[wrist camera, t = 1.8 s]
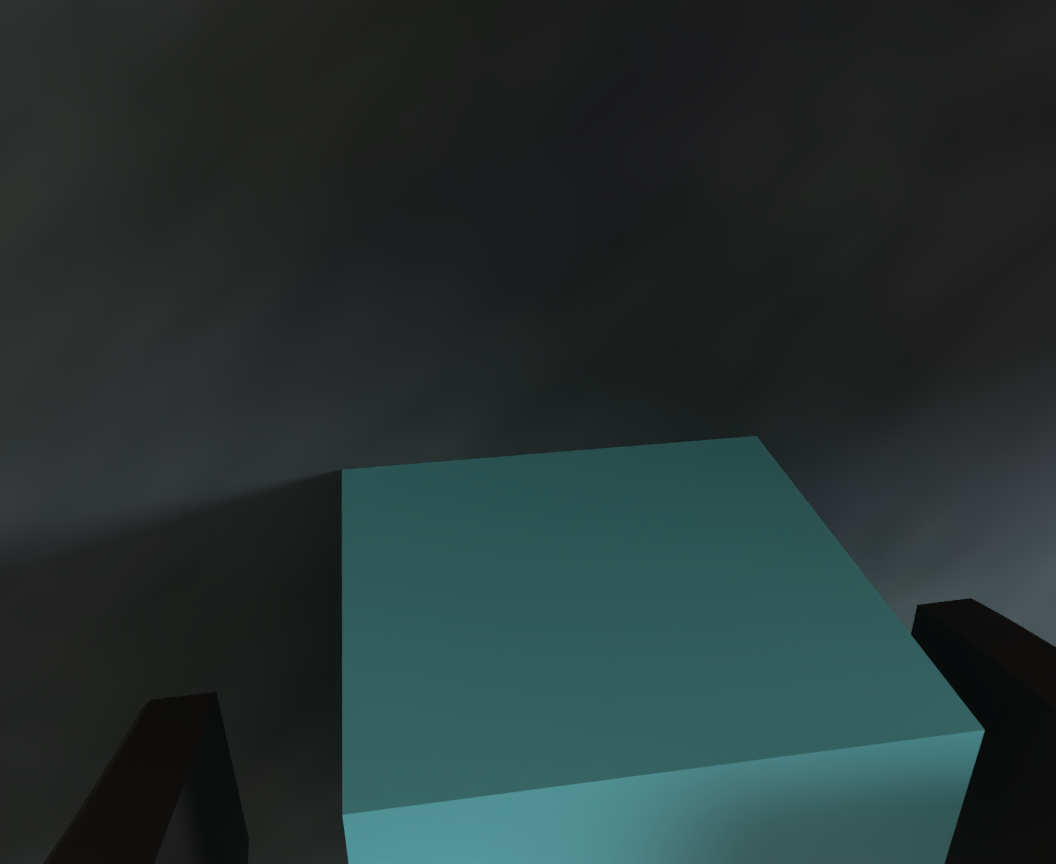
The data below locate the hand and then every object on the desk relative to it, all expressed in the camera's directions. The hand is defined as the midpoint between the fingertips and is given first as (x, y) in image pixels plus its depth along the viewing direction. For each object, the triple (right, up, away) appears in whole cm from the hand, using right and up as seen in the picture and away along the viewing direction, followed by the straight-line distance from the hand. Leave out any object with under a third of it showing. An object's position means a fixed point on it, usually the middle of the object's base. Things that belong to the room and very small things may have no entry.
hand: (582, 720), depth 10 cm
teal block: (0, +1, +2) cm, 2 cm away
